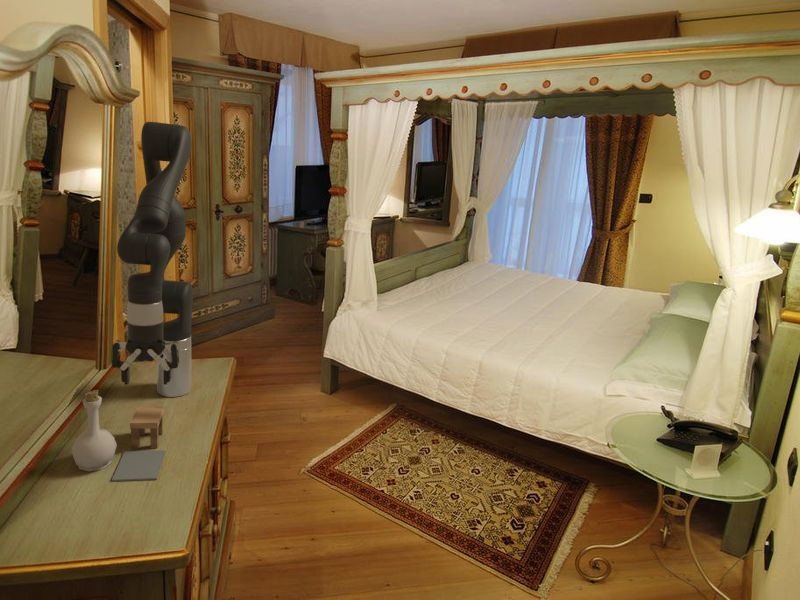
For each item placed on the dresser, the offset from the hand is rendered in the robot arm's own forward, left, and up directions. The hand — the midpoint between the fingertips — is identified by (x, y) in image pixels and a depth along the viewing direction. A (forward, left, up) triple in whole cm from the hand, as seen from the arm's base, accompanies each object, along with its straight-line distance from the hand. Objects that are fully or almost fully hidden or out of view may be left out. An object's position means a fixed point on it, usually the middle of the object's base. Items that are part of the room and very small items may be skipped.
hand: (146, 383), depth 128 cm
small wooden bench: (0, 0, -15) cm, 15 cm away
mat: (+11, +1, -15) cm, 19 cm away
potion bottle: (+9, -9, -16) cm, 20 cm away
